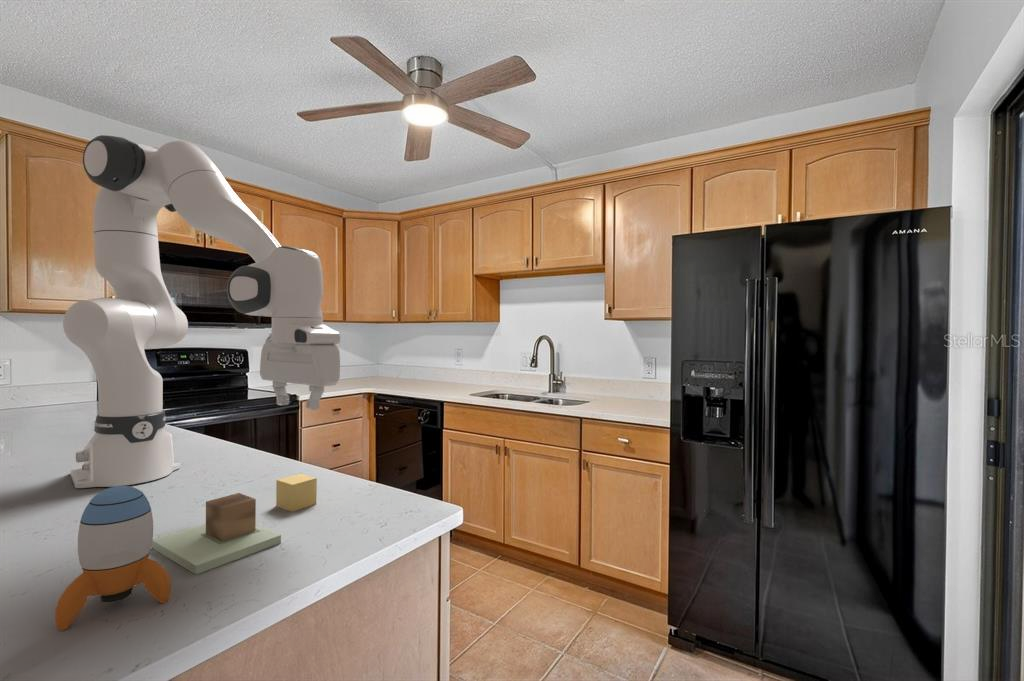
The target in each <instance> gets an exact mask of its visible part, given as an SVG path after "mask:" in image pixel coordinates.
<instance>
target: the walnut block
mask: <svg viewBox="0 0 1024 681" xmlns="http://www.w3.org/2000/svg"><path fill="white" fill-rule="evenodd" d="M256 500H257V499H256V498H254V497H251V496H248V495H246V494H243V493H241V492H237V493H234V494H230V495H225V496H222V497H218V498H215V499H210V500H206V501H205V524H206V534H207V535H209V536H211V537H213V538H215V539H217V540H219V541H221V542H223V541H226V540H229V539H232V538H235V537H238V536H241V535H244V534H247V533H250V532H253V531H255V524H256V522H257V521H256V518H257V517H256V515H257V512H256V510H257V508H256V507H257V506H256V504H257V503H256V502H257V501H256ZM256 525H257V524H256Z"/></svg>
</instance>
